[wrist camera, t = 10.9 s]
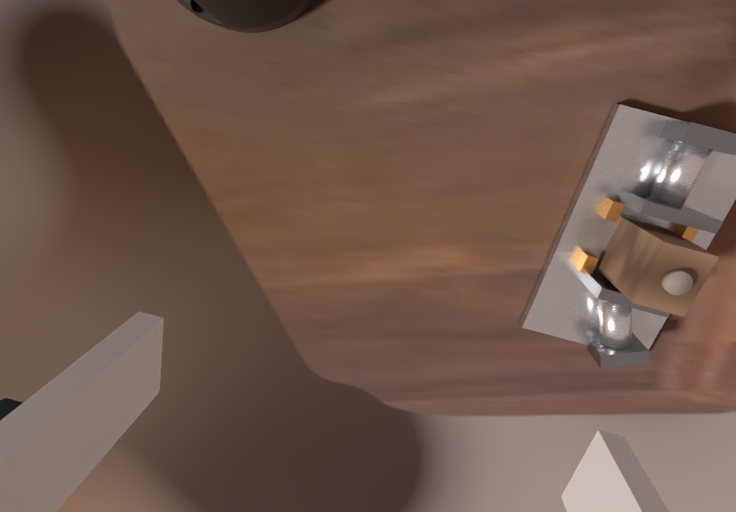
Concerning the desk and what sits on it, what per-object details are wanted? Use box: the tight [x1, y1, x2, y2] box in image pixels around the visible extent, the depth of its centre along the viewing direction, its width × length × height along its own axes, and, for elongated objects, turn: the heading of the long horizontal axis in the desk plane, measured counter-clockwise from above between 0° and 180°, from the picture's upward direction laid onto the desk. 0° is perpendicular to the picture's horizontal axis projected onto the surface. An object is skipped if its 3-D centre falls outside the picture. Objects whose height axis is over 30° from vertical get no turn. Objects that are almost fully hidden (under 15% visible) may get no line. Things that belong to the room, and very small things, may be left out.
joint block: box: [596, 217, 719, 317], centre depth 34 cm, size 5×4×8 cm
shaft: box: [587, 299, 649, 369], centre depth 39 cm, size 6×4×3 cm
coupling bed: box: [520, 104, 736, 350], centre depth 36 cm, size 21×12×5 cm, turn 166°
